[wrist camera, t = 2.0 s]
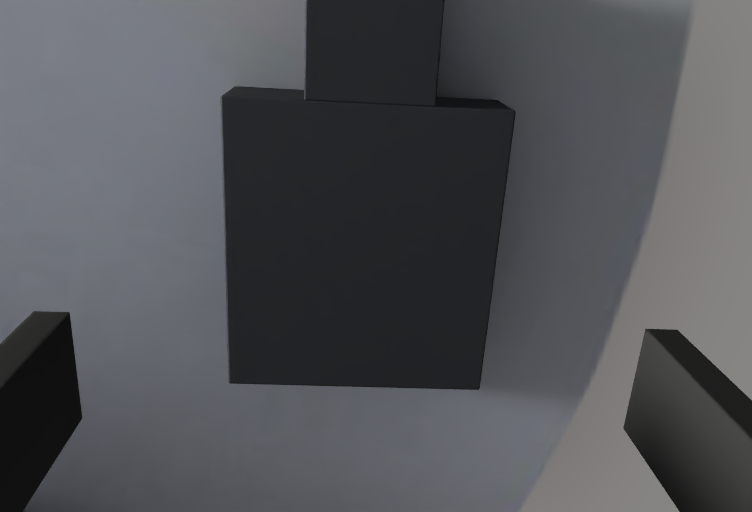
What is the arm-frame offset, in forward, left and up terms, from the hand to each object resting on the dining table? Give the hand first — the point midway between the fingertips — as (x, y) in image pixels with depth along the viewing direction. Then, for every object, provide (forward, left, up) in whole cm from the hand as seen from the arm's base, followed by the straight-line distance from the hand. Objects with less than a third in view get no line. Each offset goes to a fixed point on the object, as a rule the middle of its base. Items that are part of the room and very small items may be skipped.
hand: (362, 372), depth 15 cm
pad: (0, -2, -9) cm, 10 cm away
